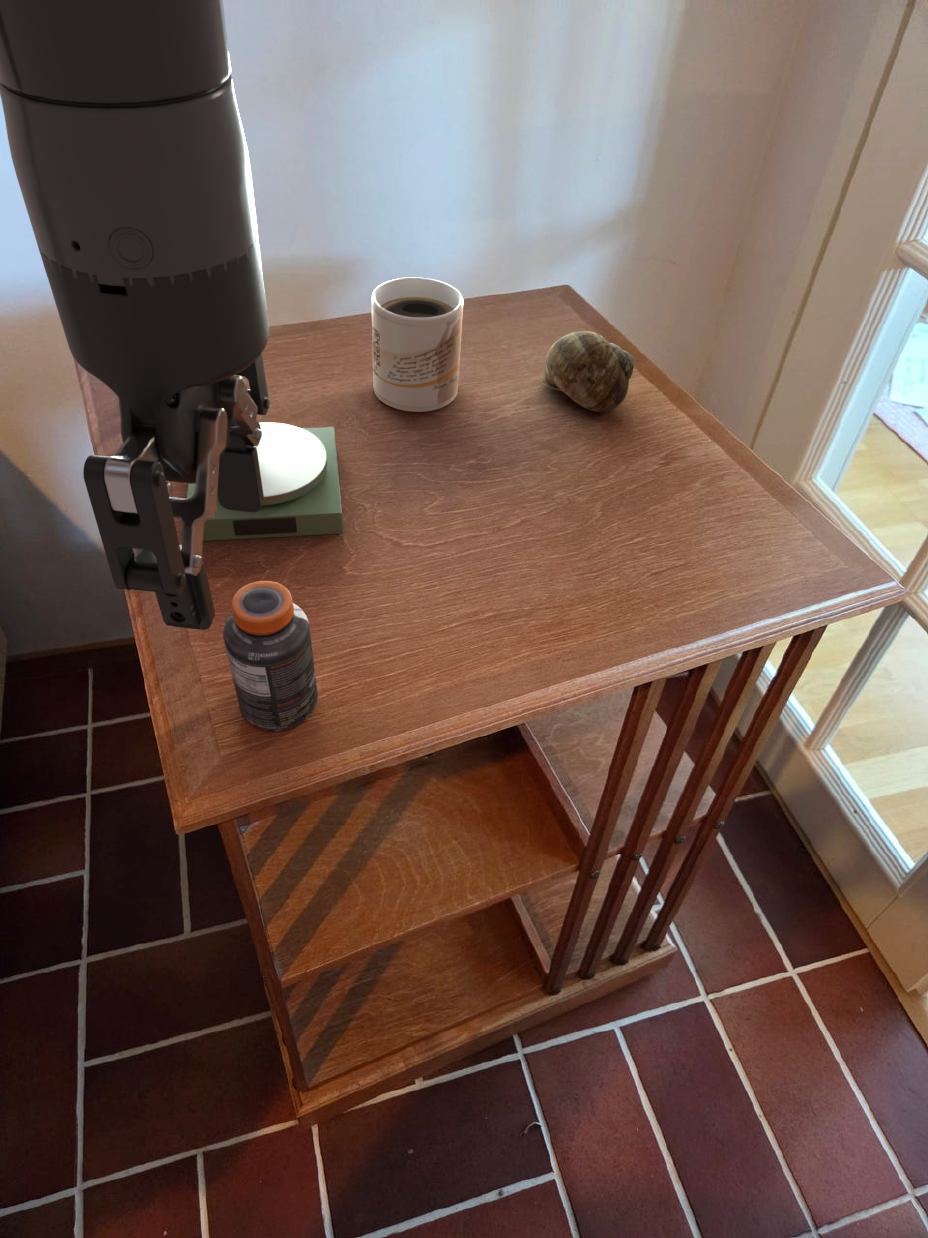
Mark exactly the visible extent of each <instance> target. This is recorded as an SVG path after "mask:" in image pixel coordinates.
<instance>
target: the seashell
mask: <svg viewBox="0 0 928 1238" xmlns="http://www.w3.org/2000/svg"><path fill="white" fill-rule="evenodd" d="M635 365H636V364H635V360H634V357H633V355H632V354H630V353H629V352H628V351H626V350H624V349H622V348H621V347H620V346H619V345H617V344H615V343H614V342H613V343H612V342H608V340H607V339H605V338H604V337H603V336H602V335H601V334H598V333H596V332H594V331H591V330H579V331H573V332H570V333H567V334H565V335H563V336H561V337H560V338H559V339H557V340H556V341H555V342H554V343H552V344H551V347H550V348H549V349H548V351H547V353H546V356H545V359H544V366H543V369H544V370H543V371H544V372H543V373H542V375H541V378H540V381H541V383H542V384H543V385H544V386H546V387H547V388H549V389H553V390H556V391H561V392H563V393H564V394H565V395H566V396H568V397H569V398H570V399H571V400H572V401H573V402H575V403H576V404H578V405H579V406H581V407H582V408H584V409H586V410H589V411H592V412H609V411H611V410H613V409H615V408H617V407H618V406H620V405H621V404H622V403H623V402H624V400H625V399H626V397H627V394H628V392H629V384H630V379H631V377H632V376H633V373H634V368H635Z"/></svg>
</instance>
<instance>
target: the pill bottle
mask: <svg viewBox="0 0 928 1238" xmlns="http://www.w3.org/2000/svg"><path fill="white" fill-rule="evenodd" d="M231 609H232V612H231V613H230V614H229V615H228V617H227V619H226V620H225V622H224V626H223V630H222V631H223V632H222V633H223V634H222V635H223V641H224V646H225V650H226V651H225V652H226V655H227V658H228V659H227V660H228V663H229V667H230V673H231V677H232V682H233V685H234V690H235V694H236V698H237V703H238V707H239V711H240V714H241V716H242V718H243V719H244V720H245V721H246V722H247V723H248V724H250V725H251V726H252V727H254V728H257V729H259V730H262V731H265V732H266V731H267V732H285V731H288V730H291V729H294V728H296V727H298V726H300V725H302V724H303V723H305V722H306V721H307V720H308V719H309V718H310V717H311V716H312V714H313V713H314V711H315V709H316V707H317V704H318V700H319V699H318V698H319V697H318V686H317V679H316V677H317V676H316V670H315V659H314V652H313V644H312V643H313V642H312V634H311V627H310V626H311V625H310V622H309V618H308V617H307V615H306V613H305V612H304V610H303V609H302V608H301V607H299V605H297V604H295V603H294V602H293V597H292V594H291V592H290V590H289V589H288V588H287V587H286V586H285V585H283V584H281V583H279V582H276V581H272V580H259V581H254V582H250V583H248V584H246V585H244V586H242V587H241V588H240V589H238V590H237V592H236V593H235V594H234V595H233V597H232V601H231Z"/></svg>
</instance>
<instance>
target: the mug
mask: <svg viewBox="0 0 928 1238" xmlns="http://www.w3.org/2000/svg"><path fill="white" fill-rule="evenodd" d="M463 316H464V297H463V295H462V293H461V292H460V291H459V290H458V289H457V288H455V287H454V286H452V285H450V284H449V283H446V282H444V281H441V280H437V279H432V278H427V277H401V278H395V279H392V280H388V281H385V282H383V283H381V284H379V285H378V286H377V287H375V289H374V290H373V292H372V294H371V337H372V338H371V339H372V341H371V342H372V345H371V346H372V389H373V393H374V394H375V396H376V397H377V398H378V400H379V401H380V402H382V403H383V404H385V405H387V406H389V407H390V408H391V407H392V408H393V409H396V410H399V411H400V410H401V411H405V412H411V413H423V412H425V413H426V412H432V411H437V410H439V409H442V408H444V407H447V406H448V405H450V404H451V403H452V402H454V400H455V399H456V397H457V395H458V392H459V382H460V381H459V380H460V367H461V366H460V363H461V351H462V350H461V348H462V332H463Z"/></svg>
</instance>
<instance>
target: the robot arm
mask: <svg viewBox="0 0 928 1238" xmlns="http://www.w3.org/2000/svg"><path fill="white" fill-rule="evenodd" d="M225 17H226V16H225V9H224V1H223V0H0V100H1V105H2V110H3V116H4V122H5V129H6V135H7V140H8V147H9V152H10V156H11V160H12V161H11V162H12V165H13V168H14V171H15V176H16V179H17V183H18V186H19V188H20V191H21V196H22V199H23V202H24V205H25V209H26V212H27V215H28V218H29V222H30V225H31V227H32V232H33V235H34V238H35V241H36V244H37V248H38V251H39V254H40V258H41V261H42V264H43V268H44V271H45V274H46V277H47V280H48V283H49V287H50V289H51V293H52V296H53V300H54V303H55V306H56V310H57V312H58V316H59V319H60V322H61V325H62V329H63V332H64V336H65V339H66V342H67V345H68V349H69V351H70V354H71V355H72V357H73V359H74V360H75V361H76V363H77V364H78V365H79V366H80V367H81V368H82V369H83V370H85V371H86V372H87V373H89V374H90V375H92V376H93V377H95V378H96V379H97V380H99V381H100V382H101V383H103V385H105V386H107V388H109V389H110V390H111V391H112V392H113V393H114V394H115V395H116V396H117V398H118V407H119V416H120V417H119V418H120V435H121V441H122V445H121V446H120V447H119V448H118V450H117V451H116V453H115V454H114V455H111V456H109V455H108V456H107V455H106V456H105V455H96V454H90V455H88V456H87V458H86V459H85V461H84V465H83V473H82V475H83V480H84V484H85V488H86V491H87V495H88V499H89V501H90V505H91V508H92V512H93V515H94V518H95V522H96V526H97V529H98V532H99V536H100V539H101V543H102V546H103V549H104V553H105V557H106V560H107V563H108V567H109V570H110V574H111V577H112V580H113V584H114V587H115V588H116V589H118V590H127V591H131V590H136V591H144V592H152V593H154V594H155V597H156V601H157V604H158V608H159V611H160V614H161V618H162V621H163V622H164V624H165V625H166V626H169V627H174V628H181V629H182V628H183V629H189V630H200V631H206V630H208V629H210V628H211V627H212V624H213V622H214V619H215V617H216V610H215V604H214V601H213V597H212V591H211V587H210V584H209V579H208V573H207V570H206V566H205V561H204V560H203V548H204V547H203V545H204V541H203V531H204V523H205V521H206V520H208V519H210V518H212V517H213V516H214V515H215V513H216V509H217V493H218V499H219V503H220V504H221V506H222V507H224V508H226V509H228V510H237V511H246V512H257V511H259V510H260V508H261V505H262V503H263V501H264V495H263V488H262V481H261V474H260V467H259V460H258V453H257V447H254V446H258V445H259V443H260V439H261V437H262V430H261V427H260V423H261V422H259V420H258V419H257V417H258V416H266V415H267V414H268V411H269V409H270V405H271V404H270V403H271V401H270V397H269V391H268V386H267V377H266V371H265V364H264V357H263V352H264V351H265V349H266V347H267V345H268V342H269V338H270V325H269V315H268V307H267V297H266V291H265V283H264V273H263V265H262V255H261V248H260V238H259V230H258V221H257V213H256V212H257V211H256V205H255V195H254V185H253V177H252V169H251V162H250V156H249V149H248V145H247V141H246V136H245V132H244V127H243V123H242V120H241V117H240V112H239V108H238V103H237V98H236V94H235V88H234V82H233V81H234V80H233V77H232V74H231V73H232V66H231V60H230V59H231V58H230V51H229V42H228V35H227V34H228V33H227V27H226V18H225ZM243 377H244V378H246V379H247V381H248V383H249V384H248V383H247V382H246V381H245V379H244V378H243ZM248 385H249V388H248ZM172 483H180V484H181V483H182V484H188V483H190V484H196V489H195V493H194V495H193V496H192V497H191V498H190V499H187V498H182V497H173V496H170V495H171V494H172V493H173V484H172ZM175 518H178V520H180V521H181V523H182V529H181V531H182V532H181V544H180V541H179V537H178V532H177V526H176V521H175Z"/></svg>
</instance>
